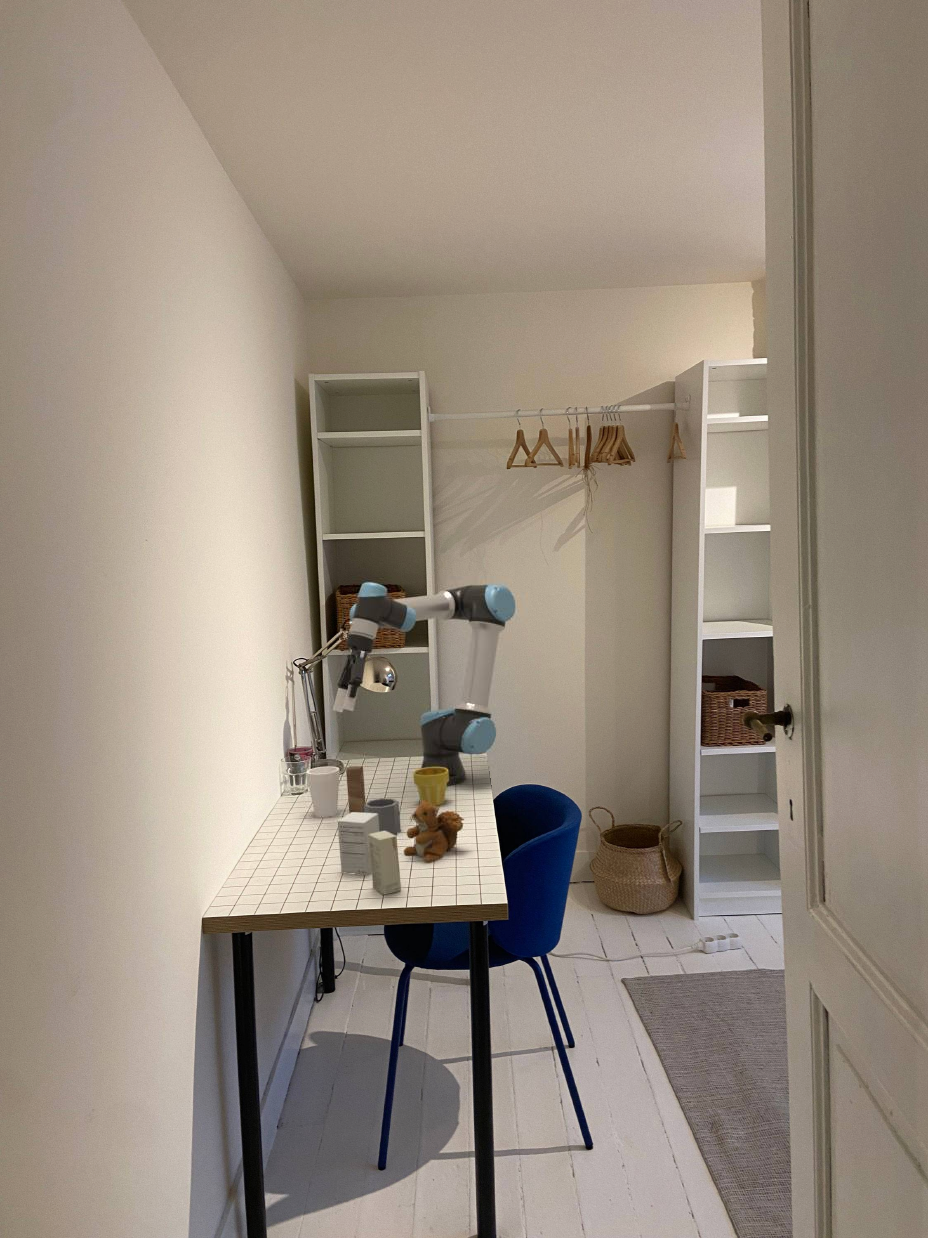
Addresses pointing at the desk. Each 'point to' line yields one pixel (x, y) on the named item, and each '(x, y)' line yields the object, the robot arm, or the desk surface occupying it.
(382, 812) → the jar
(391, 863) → the skincare box
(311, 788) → the foam cup
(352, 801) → the tan wooden beam
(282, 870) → the desk surface
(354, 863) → the supplement box
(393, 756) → the desk surface
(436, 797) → the plant pot
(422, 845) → the stuffed squirrel
